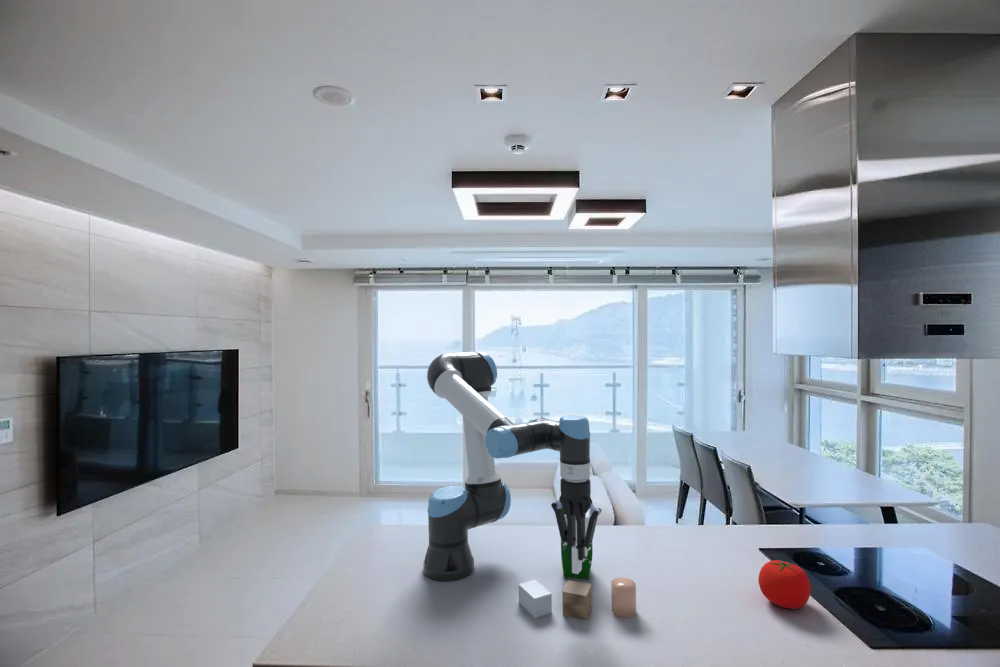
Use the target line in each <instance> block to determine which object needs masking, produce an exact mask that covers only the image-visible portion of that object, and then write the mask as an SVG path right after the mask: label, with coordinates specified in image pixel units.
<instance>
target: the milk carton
mask: <svg viewBox="0 0 1000 667" xmlns="http://www.w3.org/2000/svg"><path fill="white" fill-rule="evenodd" d="M562 508H563V511H564V515H565V520H566V524H567V518H566V511H565V509H564V507H562ZM590 516H591V515H590V509H589V510H588V511H587V513H586V517H585V536H586V532H587V527H588V523H589V519H590ZM576 540H577V521H576ZM575 543H577V541H576V542H575ZM560 555H561V556H560V557H561V558H560V559H561V565H562V574H563V578H566V579H576V580H587V581H589V580H590V575H591V567H592V562H593V542H592V543H591V544H590V545H589V546H588V547H585V558H584V559H583V560H582V570H581V571H580V572H579V573H578V574H575V573H572V558H569V549H568V544H567V543H566V542H562V541H561V540H560Z"/></svg>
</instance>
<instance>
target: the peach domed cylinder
mask: <svg viewBox="0 0 1000 667" xmlns="http://www.w3.org/2000/svg"><path fill="white" fill-rule="evenodd" d="M610 582H611V584H610V585H611V588H610V590H611V593H610V594H611V613H613V615H615V616H616V617H618V618H624V619H631V618H634V617H635V616H636V614H637V587H636V586H637V585H636V582H635V581H634V580H633V579H630V578H629V577H628V578H627V577H615V578H613V579H611V581H610ZM630 617H631V618H630Z"/></svg>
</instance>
